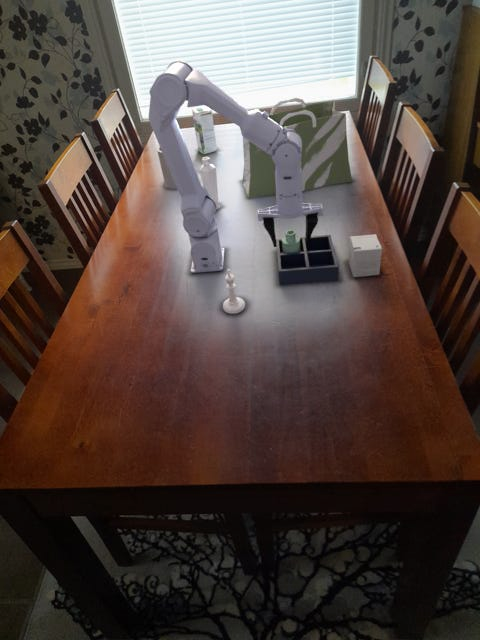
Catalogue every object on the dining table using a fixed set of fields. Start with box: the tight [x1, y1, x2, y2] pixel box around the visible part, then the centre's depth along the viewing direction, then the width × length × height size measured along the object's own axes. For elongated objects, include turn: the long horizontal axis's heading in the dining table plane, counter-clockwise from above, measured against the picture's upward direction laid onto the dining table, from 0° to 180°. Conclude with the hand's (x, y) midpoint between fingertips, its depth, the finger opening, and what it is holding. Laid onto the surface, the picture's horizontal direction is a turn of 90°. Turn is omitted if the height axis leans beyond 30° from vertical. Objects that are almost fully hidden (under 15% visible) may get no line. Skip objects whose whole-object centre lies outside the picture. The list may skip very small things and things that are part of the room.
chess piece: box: [222, 268, 246, 315], centre depth 97 cm, size 5×5×10 cm
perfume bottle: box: [199, 156, 221, 210], centre depth 130 cm, size 5×4×15 cm
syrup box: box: [191, 106, 218, 155], centre depth 163 cm, size 6×6×14 cm
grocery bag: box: [242, 97, 353, 199], centre depth 134 cm, size 32×14×23 cm, turn 98°
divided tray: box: [275, 234, 339, 286], centre depth 107 cm, size 13×13×4 cm
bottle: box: [281, 229, 300, 253], centre depth 108 cm, size 4×4×7 cm
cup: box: [156, 145, 178, 190], centre depth 146 cm, size 9×9×12 cm
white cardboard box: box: [348, 233, 383, 278], centre depth 103 cm, size 6×6×7 cm
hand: (291, 243), depth 108 cm, fingers open, 7 cm apart
